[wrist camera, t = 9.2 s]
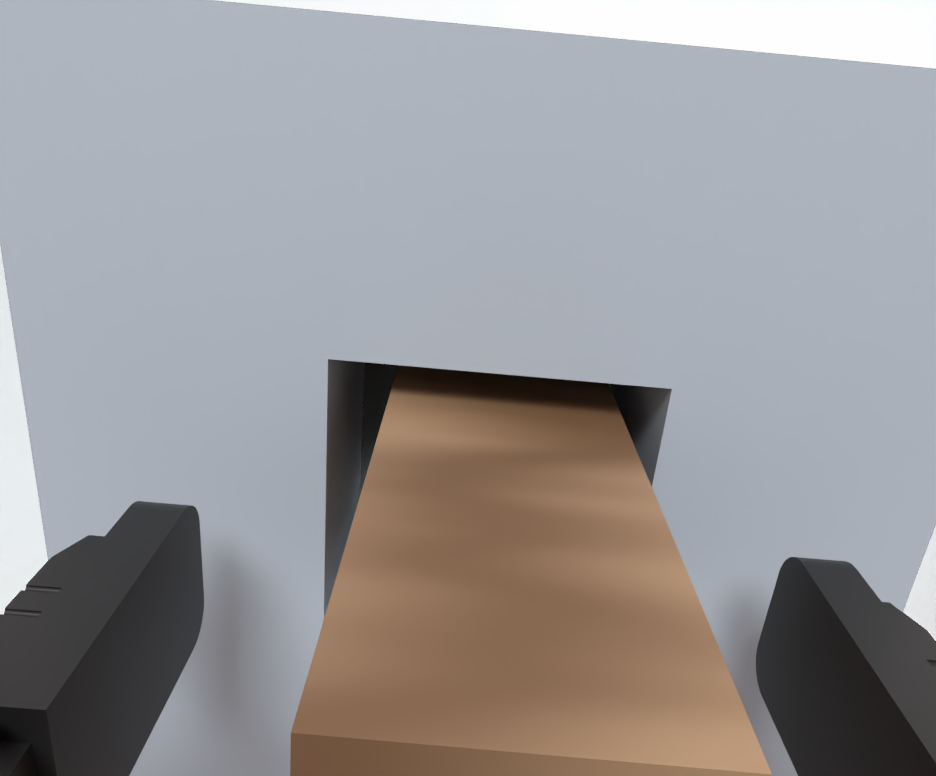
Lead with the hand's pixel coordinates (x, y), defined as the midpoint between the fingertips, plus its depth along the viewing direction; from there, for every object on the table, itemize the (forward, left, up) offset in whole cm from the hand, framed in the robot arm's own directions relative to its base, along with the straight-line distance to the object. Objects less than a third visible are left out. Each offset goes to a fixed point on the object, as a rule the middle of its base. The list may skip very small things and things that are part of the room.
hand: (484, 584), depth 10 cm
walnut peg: (0, 0, -6) cm, 6 cm away
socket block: (0, 0, -6) cm, 6 cm away
